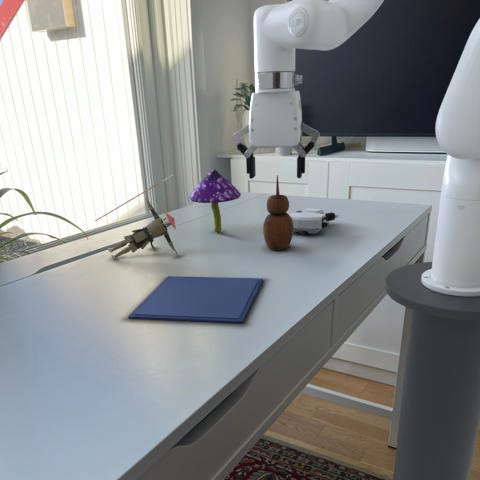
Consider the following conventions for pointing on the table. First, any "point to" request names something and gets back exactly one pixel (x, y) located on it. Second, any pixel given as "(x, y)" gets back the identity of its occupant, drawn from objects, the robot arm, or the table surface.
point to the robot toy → (311, 220)
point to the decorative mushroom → (214, 194)
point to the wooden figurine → (278, 222)
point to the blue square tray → (200, 300)
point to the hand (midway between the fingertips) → (275, 177)
